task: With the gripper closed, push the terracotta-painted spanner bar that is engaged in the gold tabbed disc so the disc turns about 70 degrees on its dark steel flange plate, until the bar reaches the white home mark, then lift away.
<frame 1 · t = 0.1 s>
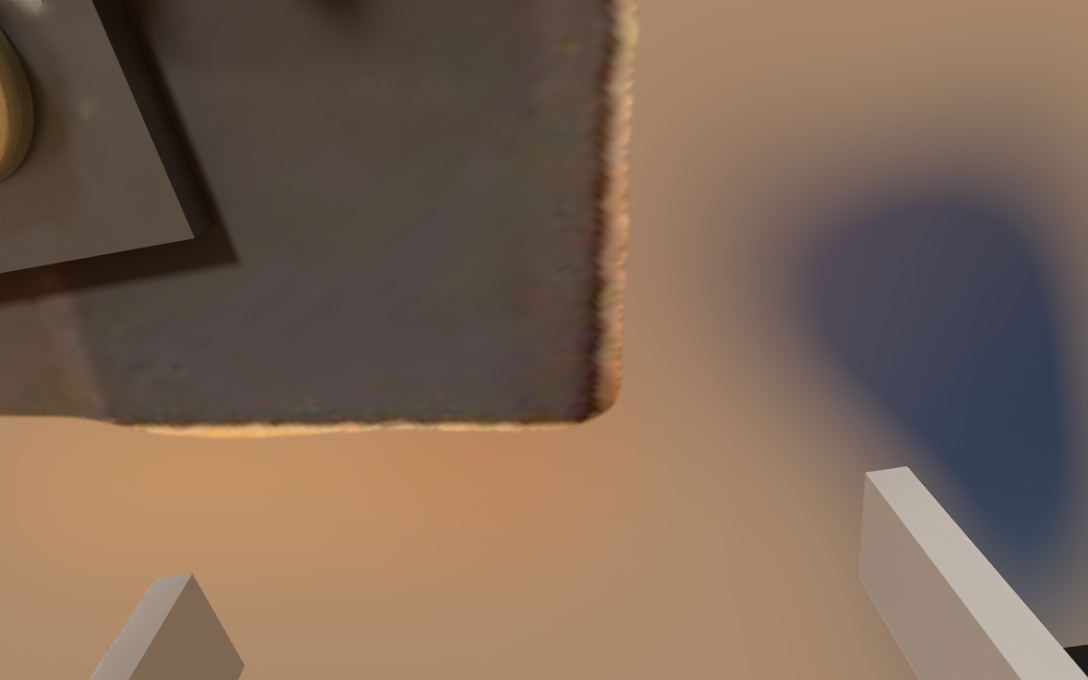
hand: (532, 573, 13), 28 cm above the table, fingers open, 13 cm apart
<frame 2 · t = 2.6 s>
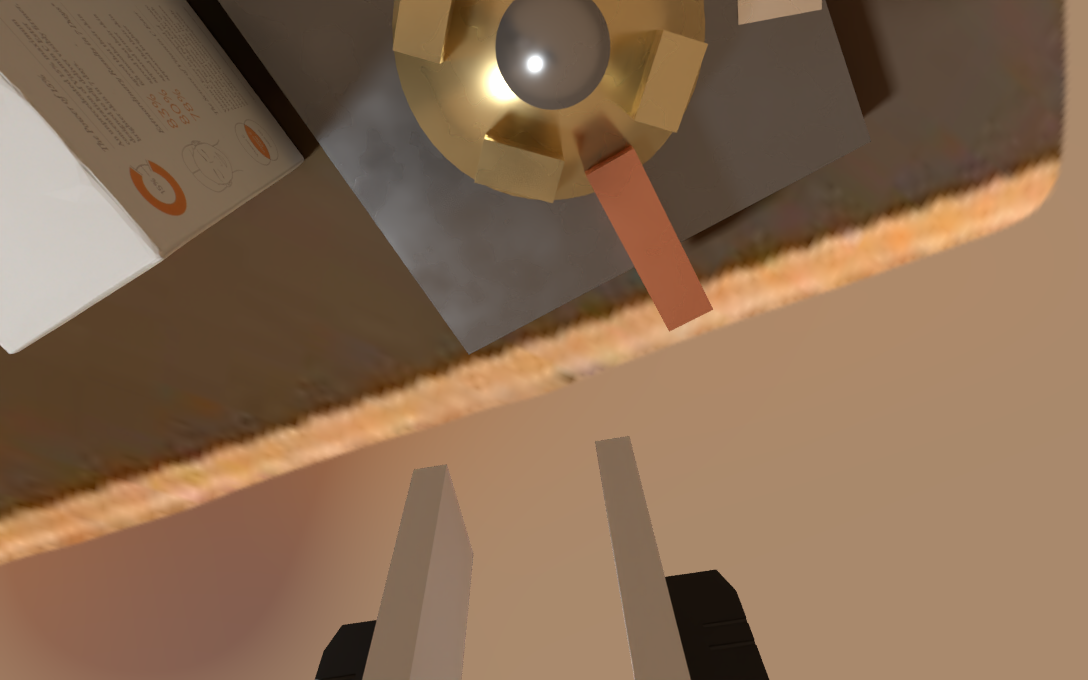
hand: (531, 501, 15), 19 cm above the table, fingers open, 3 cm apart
small box: (195, 117, 28), on the table
flange plate: (545, 41, 27), on the table
gold tabbed disc: (590, 126, 25), point 4 cm above the table, hinge at 0.0°
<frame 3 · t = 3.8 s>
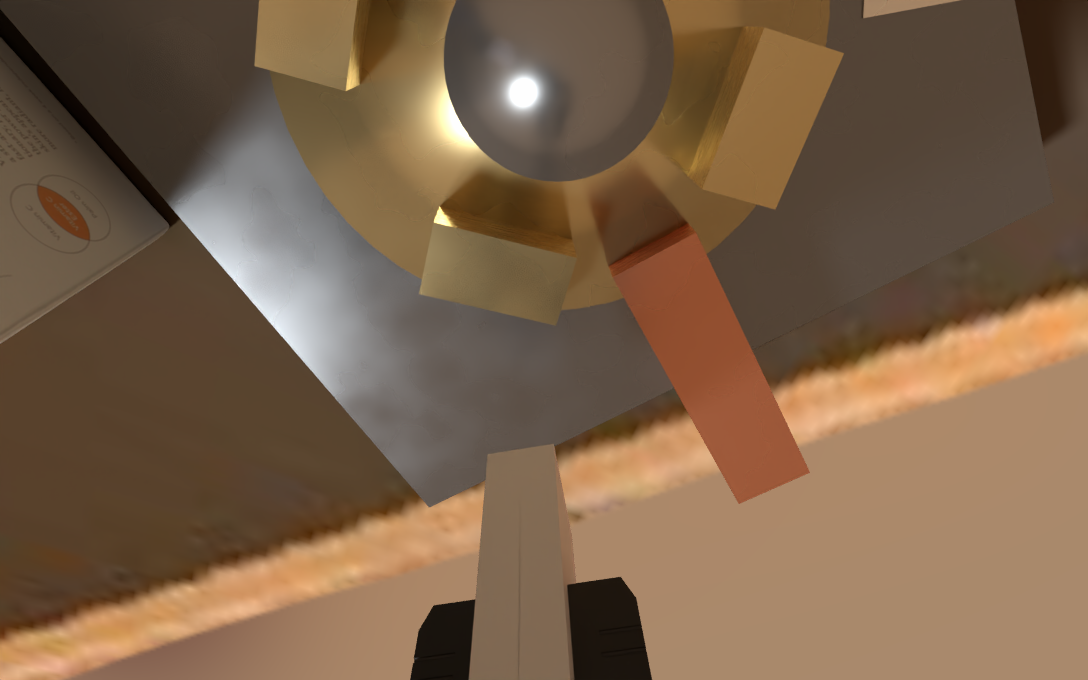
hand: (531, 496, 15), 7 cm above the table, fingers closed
flange plate: (540, 44, 17), on the table
gold tabbed disc: (619, 190, 15), point 4 cm above the table, hinge at 0.0°
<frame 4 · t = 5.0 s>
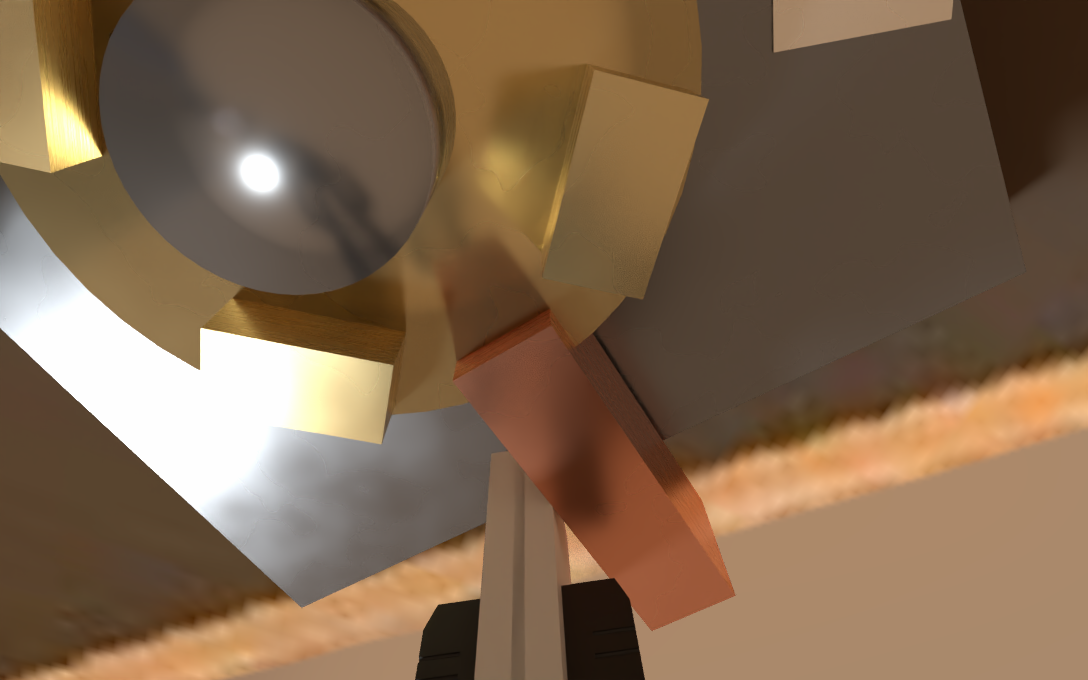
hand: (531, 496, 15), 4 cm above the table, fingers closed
flange plate: (399, 80, 14), on the table
gold tabbed disc: (465, 268, 12), point 5 cm above the table, hinge at 1.9°, touching gripper
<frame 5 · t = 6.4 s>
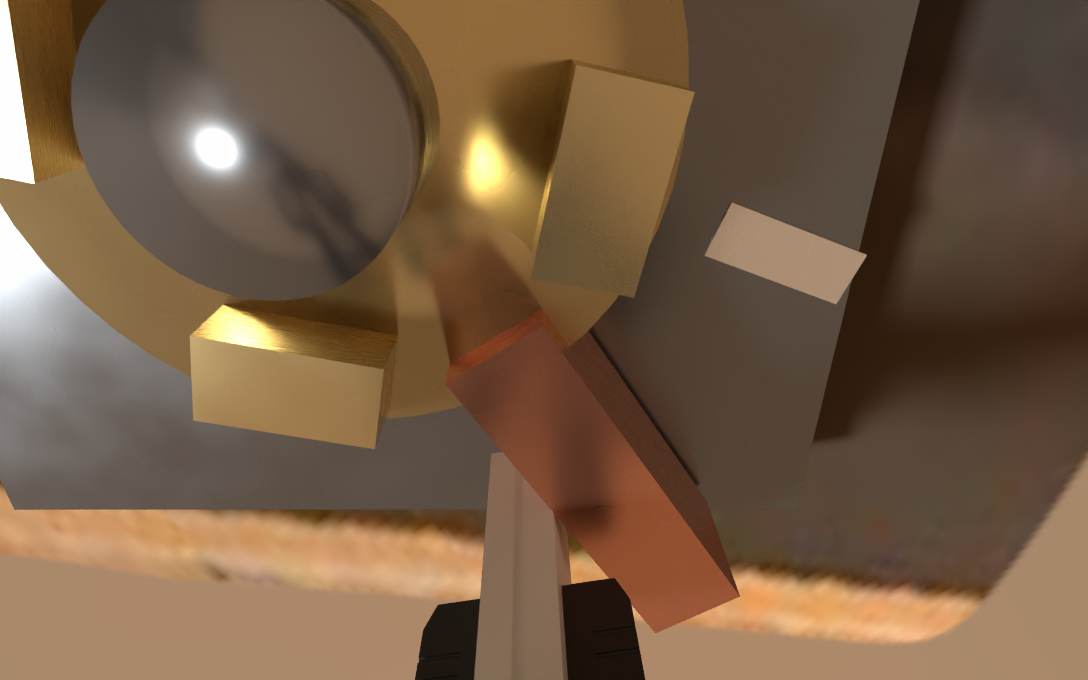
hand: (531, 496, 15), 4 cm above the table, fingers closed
flange plate: (390, 82, 14), on the table
gold tabbed disc: (456, 269, 11), point 4 cm above the table, hinge at 33.8°, touching gripper
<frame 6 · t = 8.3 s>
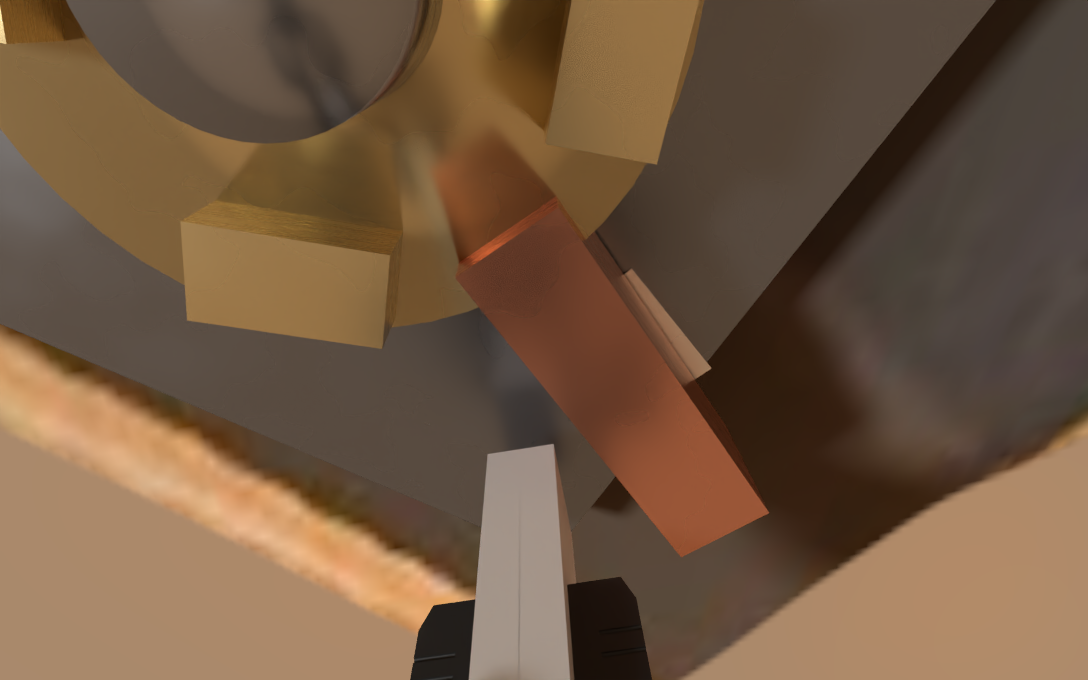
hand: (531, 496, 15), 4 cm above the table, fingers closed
gold tabbed disc: (463, 160, 11), point 4 cm above the table, hinge at 65.4°
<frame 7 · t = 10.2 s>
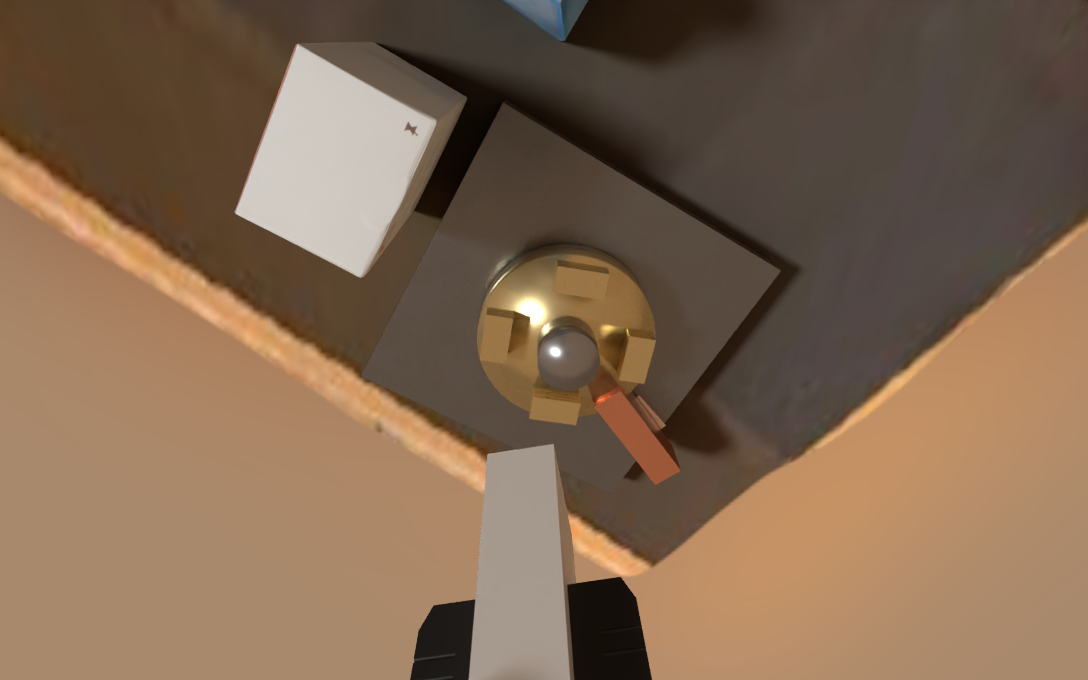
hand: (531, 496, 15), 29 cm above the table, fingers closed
small box: (393, 130, 39), on the table
flange plate: (562, 310, 44), on the table
gold tabbed disc: (594, 375, 41), point 4 cm above the table, hinge at 65.4°
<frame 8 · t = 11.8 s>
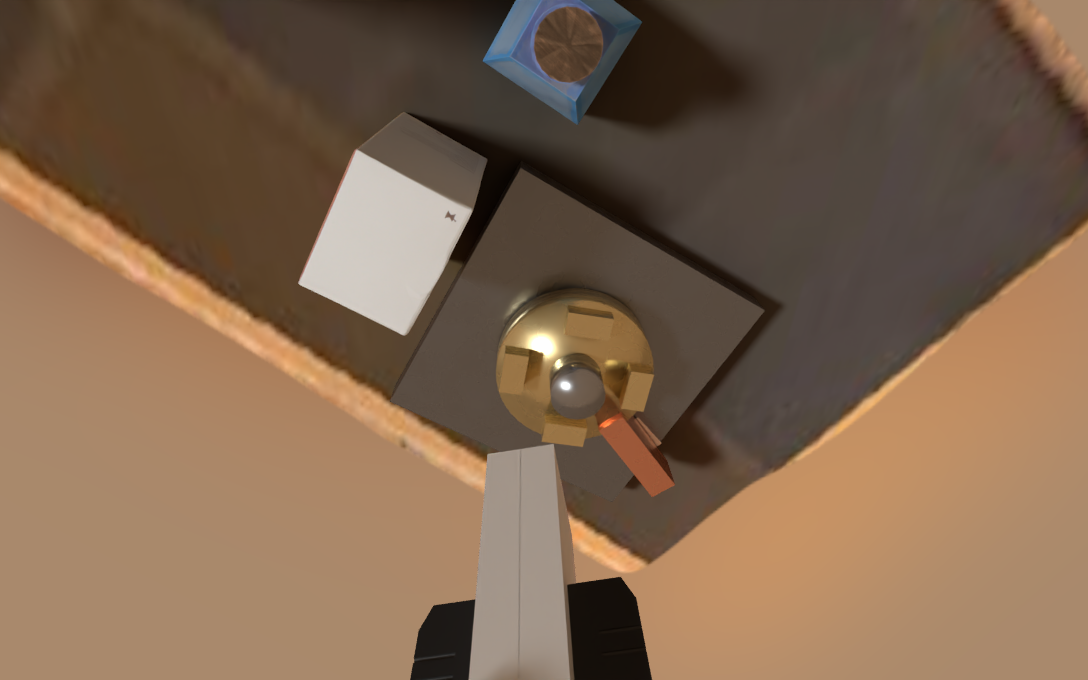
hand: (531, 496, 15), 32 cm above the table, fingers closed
small box: (421, 186, 44), on the table
perfume bottle: (556, 38, 40), on the table
flange plate: (570, 341, 49), on the table
gold tabbed disc: (599, 402, 47), point 4 cm above the table, hinge at 65.4°
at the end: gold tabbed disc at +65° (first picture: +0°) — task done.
